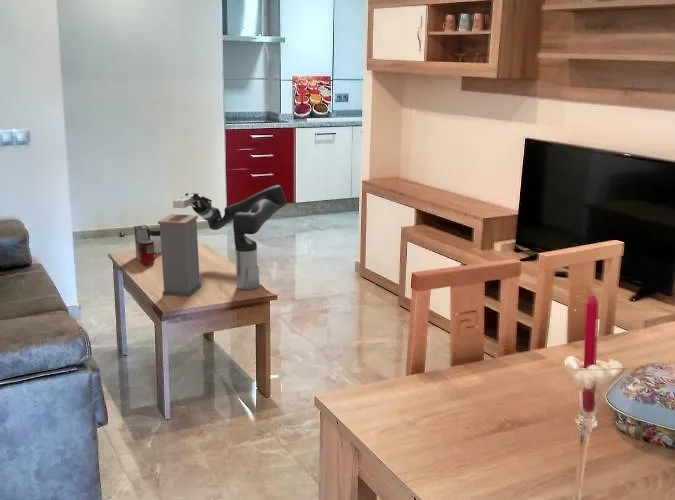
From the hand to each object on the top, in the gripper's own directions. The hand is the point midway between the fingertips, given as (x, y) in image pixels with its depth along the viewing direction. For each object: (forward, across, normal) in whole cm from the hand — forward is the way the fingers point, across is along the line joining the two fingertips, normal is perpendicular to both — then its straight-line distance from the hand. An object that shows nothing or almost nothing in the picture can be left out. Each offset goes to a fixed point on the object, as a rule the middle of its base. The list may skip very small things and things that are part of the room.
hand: (190, 195), depth 318 cm
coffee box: (-43, +38, -19) cm, 60 cm away
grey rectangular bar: (+2, 0, -5) cm, 5 cm away
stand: (-5, 0, -42) cm, 42 cm away
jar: (-54, +36, -12) cm, 66 cm away
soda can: (-35, +32, -24) cm, 53 cm away
